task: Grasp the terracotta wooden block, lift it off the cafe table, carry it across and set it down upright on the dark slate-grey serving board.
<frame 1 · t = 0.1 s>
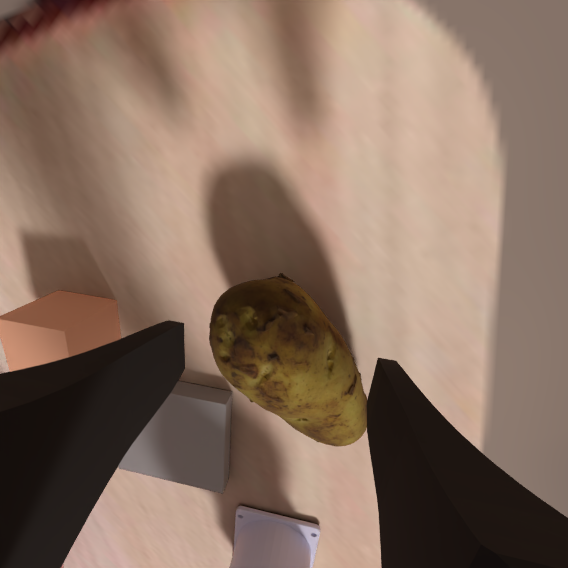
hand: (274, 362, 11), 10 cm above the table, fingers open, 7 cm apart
potato: (302, 337, 23), on the table
slate board: (176, 425, 28), on the table
terracotta block: (92, 322, 25), on the table
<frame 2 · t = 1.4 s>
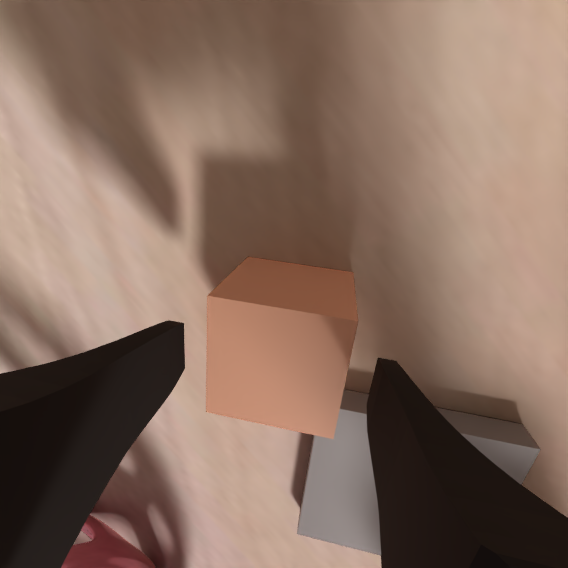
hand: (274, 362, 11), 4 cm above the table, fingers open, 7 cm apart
spiral basket: (112, 563, 27), on the table
slate board: (396, 472, 18), on the table
terracotta block: (293, 311, 16), on the table
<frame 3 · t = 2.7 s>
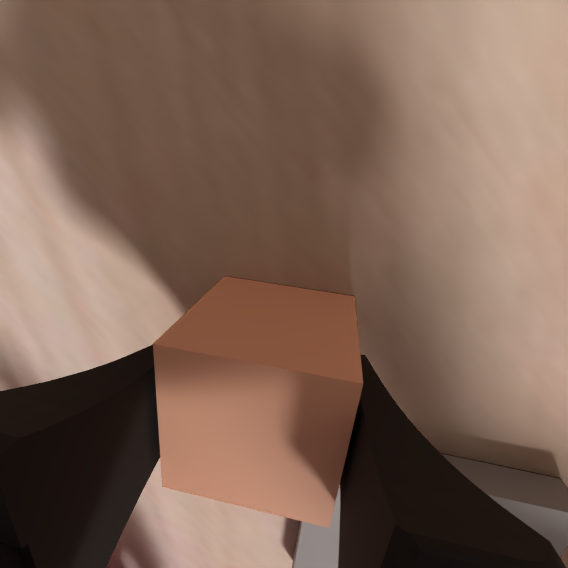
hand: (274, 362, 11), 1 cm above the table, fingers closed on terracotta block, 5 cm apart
slate board: (405, 527, 15), on the table
terracotta block: (281, 342, 13), on the table, touching gripper
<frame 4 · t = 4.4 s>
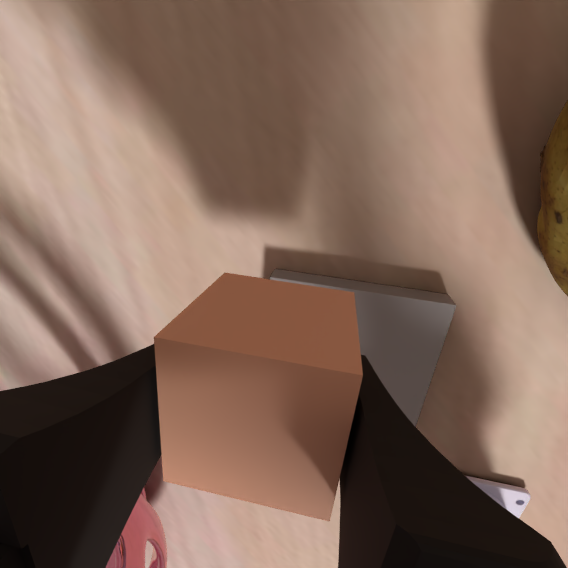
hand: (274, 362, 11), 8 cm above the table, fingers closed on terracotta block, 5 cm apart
spiral basket: (99, 474, 30), on the table
slate board: (344, 352, 20), on the table
terracotta block: (281, 338, 13), point 7 cm above the table, touching gripper
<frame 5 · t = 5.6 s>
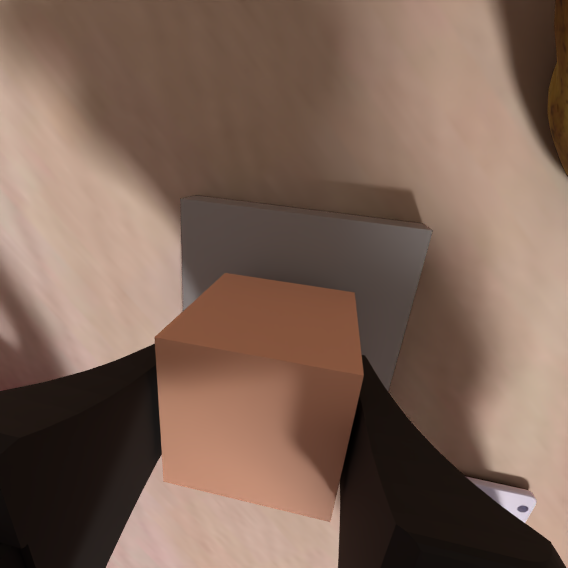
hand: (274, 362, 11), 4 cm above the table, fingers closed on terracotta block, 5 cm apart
slate board: (292, 311, 15), on the table
terracotta block: (282, 339, 13), point 3 cm above the table, touching gripper
when the fingers open (4 cm above the table, at t = 6.4 s): terracotta block drops 1 cm, resting on slate board.
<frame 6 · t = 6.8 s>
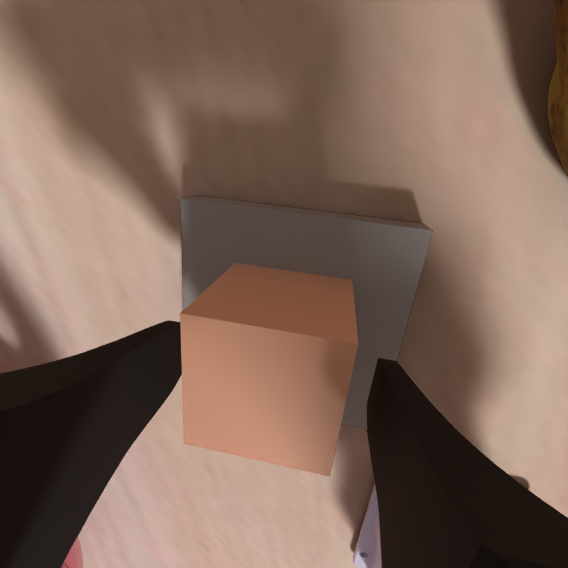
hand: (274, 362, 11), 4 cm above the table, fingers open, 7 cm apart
spiral basket: (19, 471, 25), on the table
slate board: (292, 311, 16), on the table
terracotta block: (286, 323, 14), point 1 cm above the table, touching slate board
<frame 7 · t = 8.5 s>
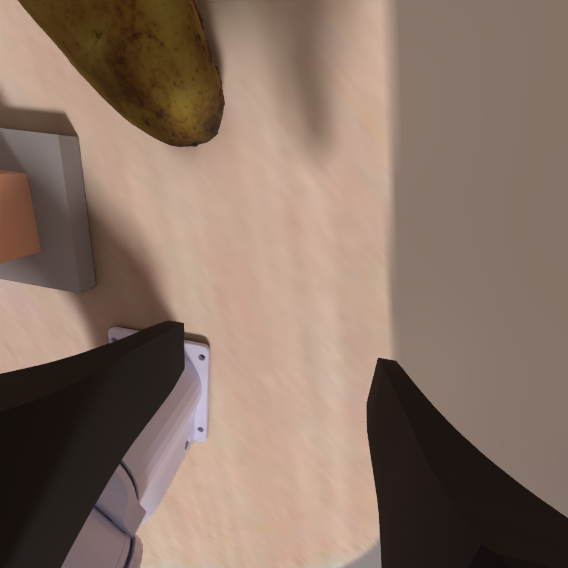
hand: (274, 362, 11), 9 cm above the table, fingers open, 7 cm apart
potato: (152, 27, 17), on the table
slate board: (22, 208, 22), on the table
terracotta block: (0, 209, 20), point 1 cm above the table, touching slate board
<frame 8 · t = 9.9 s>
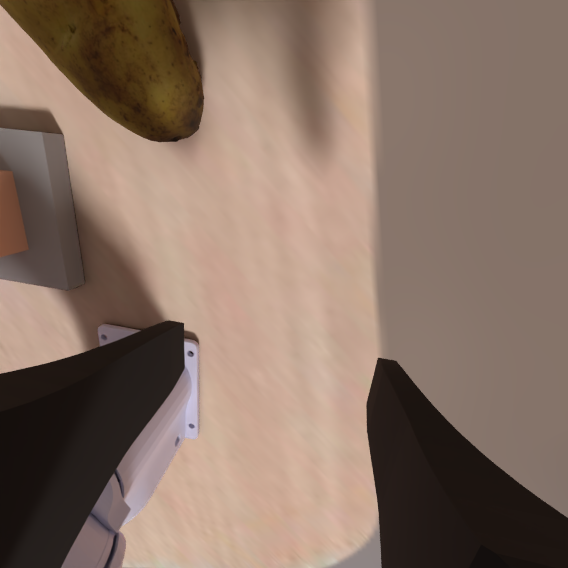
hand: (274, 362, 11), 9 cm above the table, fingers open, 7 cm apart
potato: (133, 23, 17), on the table
slate board: (10, 206, 22), on the table
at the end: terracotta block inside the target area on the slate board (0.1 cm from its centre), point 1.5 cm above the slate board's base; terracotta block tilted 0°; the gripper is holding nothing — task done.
